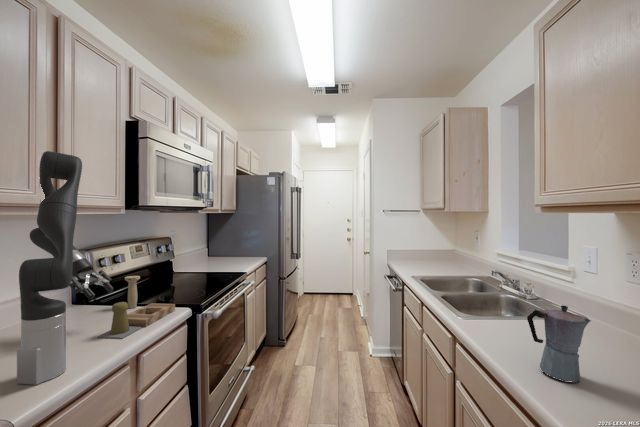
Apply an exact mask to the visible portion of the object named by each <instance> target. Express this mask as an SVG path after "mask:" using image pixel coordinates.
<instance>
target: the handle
mask: <svg viewBox="0 0 640 427" xmlns="http://www.w3.org/2000/svg"><path fill="white" fill-rule="evenodd" d="M140 279H141V276H140V275H129V276H125V277H124V281H126V282H127V284H128V285H127V287H128V288H127V289H128V290H127V304H128V308H129V309H135V308H137V306H138V305H137V304H138V287H137V286H138V284H137V282H138V281H139V280H140Z"/></svg>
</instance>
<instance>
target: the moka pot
mask: <svg viewBox="0 0 640 427" xmlns="http://www.w3.org/2000/svg"><path fill="white" fill-rule="evenodd" d="M560 308H561V309H544V310H538V309H534V310H533V311H532V312H531V313H530V314H528V315H527V317H526V320H527V322H528V326H529V329H530V332H531V335H532V338H533V341H534V342H535V343H539V344H543V342H544V340H543V339H541V338H540V339H539V338H538V335H537V331H536V328H535V324H534V320H533V319H534V318H535V317H538V318H540V319H543V320H544V321H543V322H544V331H545V332H544V334H545V345H544V349H543V352H542V355H541V356H542V357H541V360H540V362H539V369H540V368H541V370H542V371H543V372H545V373H546V374H548V375H550V376H552V377H555V378H557V379H561V380H563V381H572V382H577V381H579V380H580V381H581V372H580V362H579V360H580V359H579V358H580V354H579V348H580V347H581V344H582V339H583V335H584V331H585V329H586V327H587V325H589V323H590V322H592V320H591V319H589V318H587V317H586V316H583V315H579V314H575V313H572V312H569V311H568V309H569V307H568V306H567V305H560ZM541 370H540V371H541ZM542 371H541V372H542ZM543 372H542V373H543ZM546 374H545V375H546ZM548 375H547V376H548ZM550 376H549V377H550ZM552 377H551V378H552Z"/></svg>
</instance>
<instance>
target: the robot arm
mask: <svg viewBox="0 0 640 427" xmlns="http://www.w3.org/2000/svg"><path fill="white" fill-rule="evenodd" d="M38 170H39V177H40V179H39V185H40V184H41V187H42V189H43V192H44V194H45V199H44V200H43V201H42V202H41V201H40V203H39V206H38V211H37V216H36V224H37V226H38V227H35V228H33V229H32V230H30V232H29V238H30V241H31V242H32V243H33V245H35V246H36V247H38V248H40V249H42V250H43V251H45V252H47V253H48V254H50V255H52V257H47V258H44V257H43V258H33V259H26V260H24V261H22V263H21V265H20V267H19V269H18V270H19V271H18V285H19V295H20V347H17V349H16V384H19V385H35V386H36V385H39V384H41V383H44V382H47V381H50V380H52V379H55V378H57V377H58V376H60V375H62V374H63V373H65V371H66V370H67V327H66V326H67V306H66V302H65V301H64V300H62V299H61V300H60V299H54V298H49V297H46V296H44V295H42V294H40V292H49V291H57V290H63V289H67V288H68V287H70V288H71V289H72V291H73V292H74V293H75V294H78V293H82V294H83V295H84V296H86V298H87V299H89V300H93V299H94V298H95V297H96V294H95V293H94V292H93V290H91V288H90V287H89V286H90V285H97V286H102V287H103V288H104V290H105V291H107V293H108V294H111V293H112V292H113V291H114V290H115V289H114V287H113V286H112V285H111V283H110V282H111V281H112V278H111V277H110V276H109V275H108V274H107V272H106V271H104V270H103V269H100V270H98V271H95V270H94V266H93V264H92V263H91V262H90V261H89V260H88V259H87V258H86V257H85V256H84V254H83V253H82V252H80V251H79V250H78V249H77V248H76V247H75V246H74V237H75V230H76V222H77V213H78V212H77V211H78V195H79V194H78V193H79V188H80V184H81V183H80V182H81V176H82V171H83V161H82V159H81V158H80V157H79V156H75V155H72V154H67V153H61V152H55V151H49V150H46V151H44V152H42V156H41V158H40V160H39V168H38ZM52 179H55V180H62V181H65V183H63V185H62V186H60V188H58V189H57V190H56V188H55V186H54V184H53V181H52Z"/></svg>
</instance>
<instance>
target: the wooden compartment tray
mask: <svg viewBox="0 0 640 427" xmlns="http://www.w3.org/2000/svg"><path fill="white" fill-rule="evenodd" d="M175 311H176V304H175V303H156V302H155V303H153V302H152V303H149V304H147V305H144V306H142V307H140V308H138V309H136V310H134V311H132V312H130V313H127V317H128V323H129V326H134V327H142V328H147V327H148V326H150V325H153V324H154V323H155V322H157V321H160V320H161V319H163V318H164V317H166V316H168V315H169V314H172V313H173V312H175Z"/></svg>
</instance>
